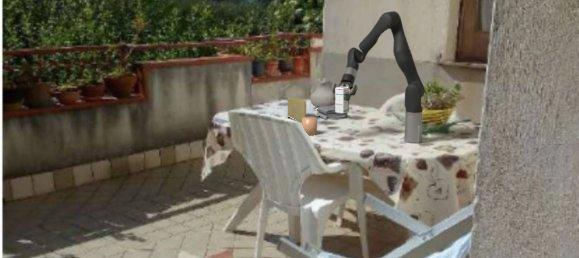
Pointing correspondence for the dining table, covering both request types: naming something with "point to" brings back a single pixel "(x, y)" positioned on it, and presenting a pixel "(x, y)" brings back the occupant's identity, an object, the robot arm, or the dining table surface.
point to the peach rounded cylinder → (310, 125)
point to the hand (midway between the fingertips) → (341, 99)
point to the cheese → (296, 108)
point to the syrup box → (341, 100)
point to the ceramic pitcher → (322, 93)
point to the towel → (330, 113)
